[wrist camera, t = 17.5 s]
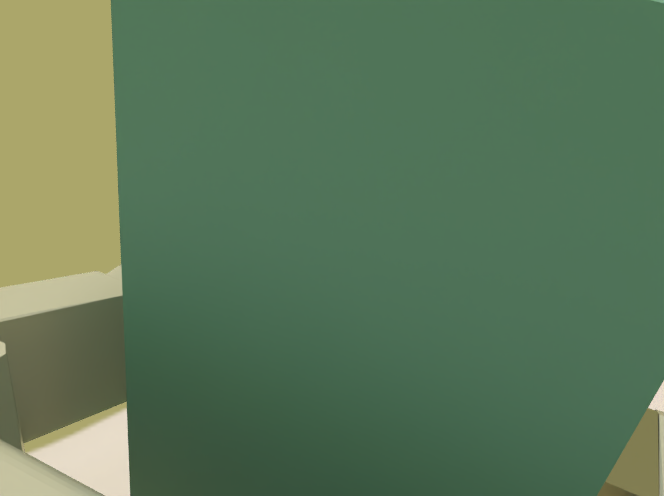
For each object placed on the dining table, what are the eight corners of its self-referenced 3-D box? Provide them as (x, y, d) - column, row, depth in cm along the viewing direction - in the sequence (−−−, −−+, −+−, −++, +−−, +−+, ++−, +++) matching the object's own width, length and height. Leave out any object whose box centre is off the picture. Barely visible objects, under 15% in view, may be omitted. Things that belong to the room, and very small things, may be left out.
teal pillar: (460, 593, 13) (745, -32, 7) (387, 859, 9) (858, 44, 3) (268, 497, 14) (355, -107, 8) (138, 699, 11) (106, -115, 4)
